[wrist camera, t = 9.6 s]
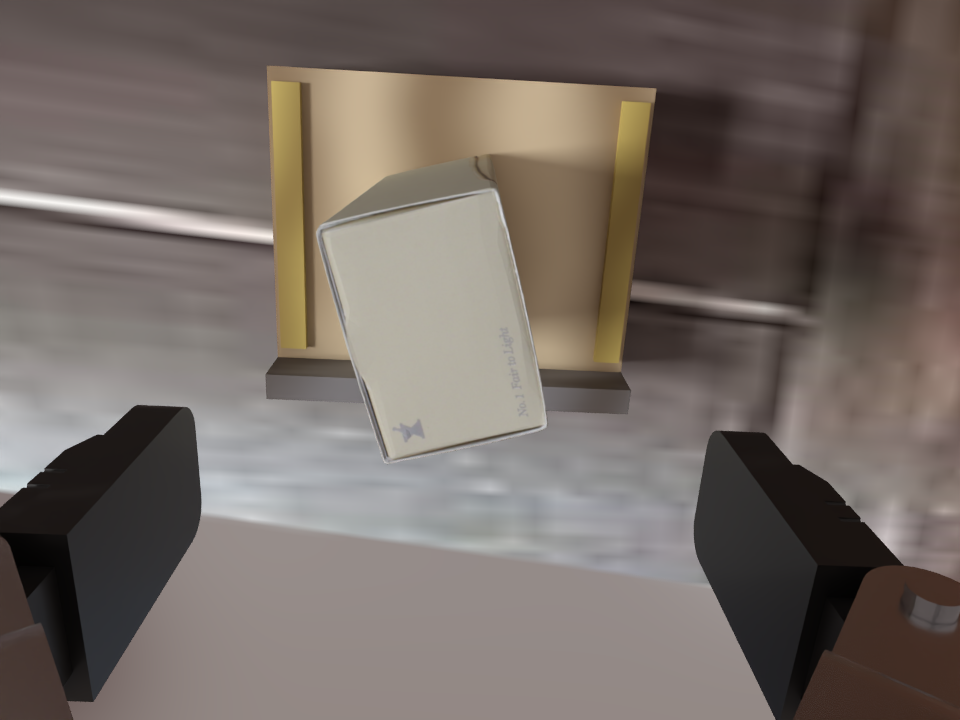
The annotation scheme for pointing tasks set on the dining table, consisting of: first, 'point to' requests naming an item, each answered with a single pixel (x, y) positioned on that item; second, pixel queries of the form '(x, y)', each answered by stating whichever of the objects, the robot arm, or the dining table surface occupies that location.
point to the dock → (524, 194)
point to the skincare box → (434, 311)
